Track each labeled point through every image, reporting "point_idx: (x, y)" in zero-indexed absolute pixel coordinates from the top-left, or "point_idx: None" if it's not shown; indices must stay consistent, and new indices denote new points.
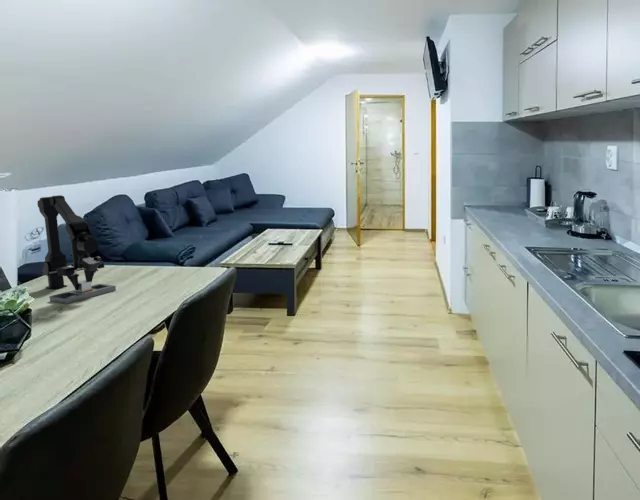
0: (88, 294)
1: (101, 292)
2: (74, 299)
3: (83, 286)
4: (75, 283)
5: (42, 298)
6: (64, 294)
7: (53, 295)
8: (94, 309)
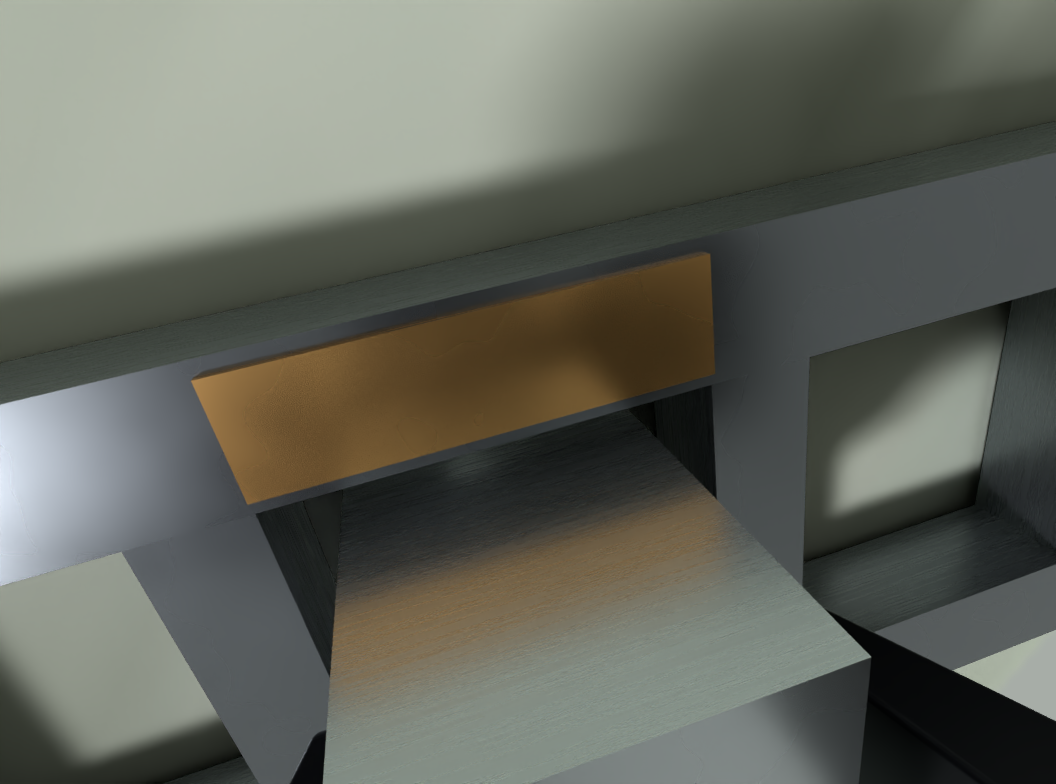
0: (576, 253)
1: (62, 361)
2: (978, 149)
3: (699, 581)
4: (1036, 736)
5: None
6: (891, 611)
7: (1046, 625)
8: None
